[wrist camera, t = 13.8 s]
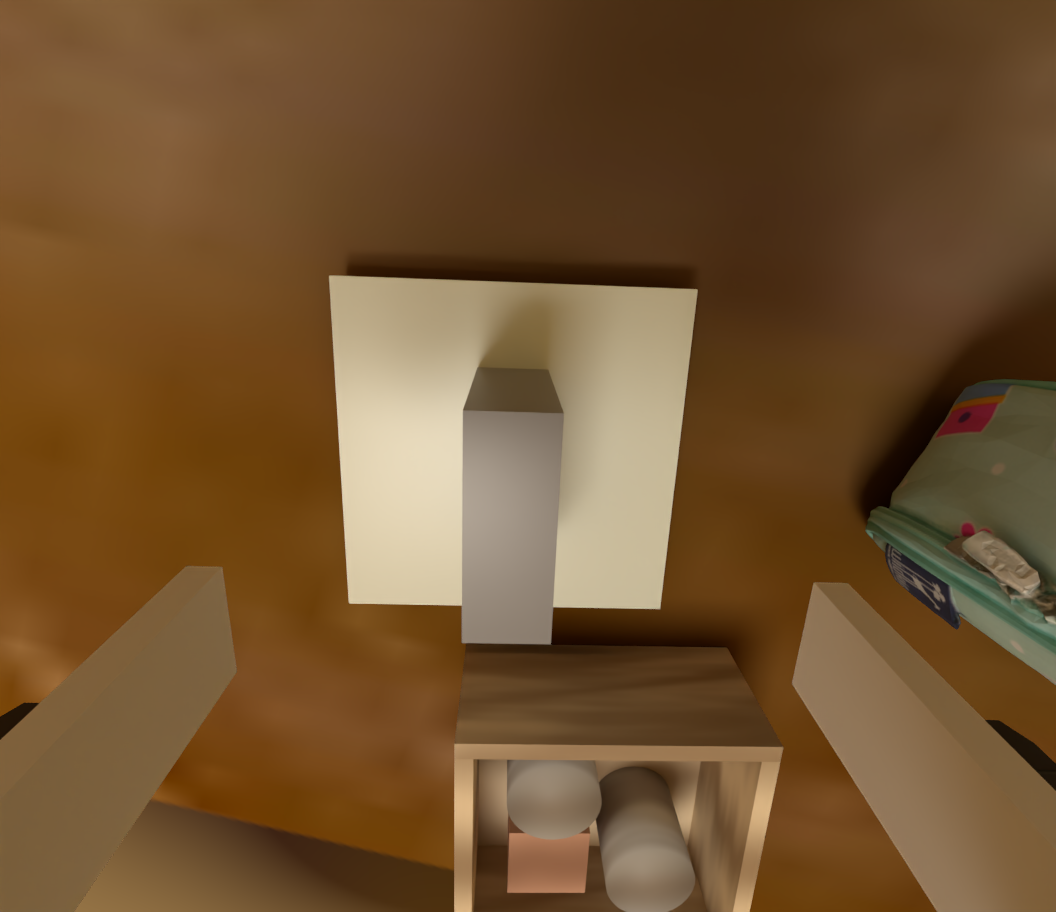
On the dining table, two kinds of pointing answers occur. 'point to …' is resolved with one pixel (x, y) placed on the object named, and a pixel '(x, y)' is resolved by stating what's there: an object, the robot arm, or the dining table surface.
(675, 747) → the crate
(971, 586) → the lunch box
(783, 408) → the dining table surface
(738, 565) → the dining table surface
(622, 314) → the lid
